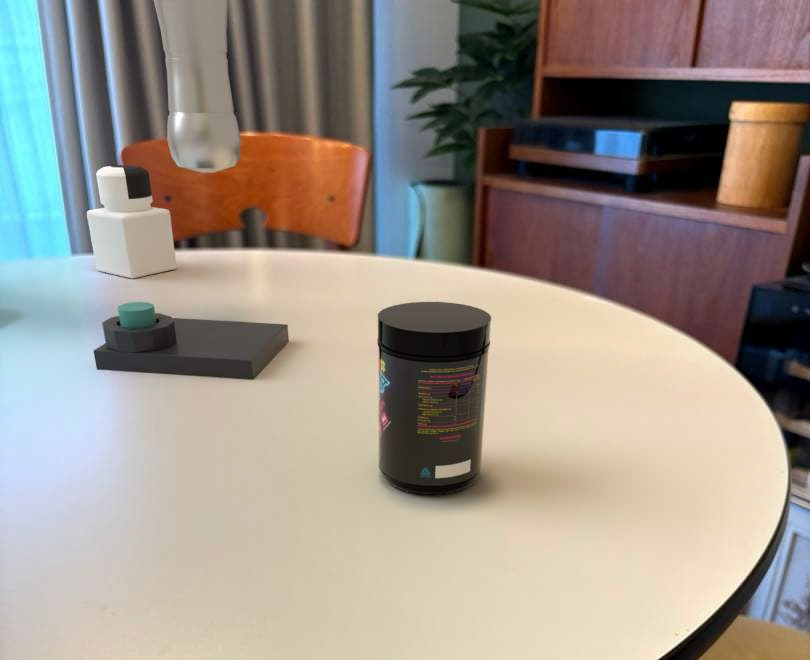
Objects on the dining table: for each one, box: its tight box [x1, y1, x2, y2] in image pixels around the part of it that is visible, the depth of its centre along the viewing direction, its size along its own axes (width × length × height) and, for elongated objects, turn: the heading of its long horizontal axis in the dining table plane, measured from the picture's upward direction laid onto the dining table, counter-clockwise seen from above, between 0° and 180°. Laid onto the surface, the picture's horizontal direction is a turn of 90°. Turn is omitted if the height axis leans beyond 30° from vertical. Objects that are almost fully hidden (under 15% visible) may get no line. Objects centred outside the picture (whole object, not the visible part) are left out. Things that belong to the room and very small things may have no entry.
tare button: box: [117, 301, 157, 328], centre depth 71 cm, size 3×3×2 cm
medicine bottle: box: [86, 164, 177, 279], centre depth 101 cm, size 7×7×12 cm
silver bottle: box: [153, 0, 242, 174], centre depth 71 cm, size 6×7×20 cm
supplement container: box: [376, 301, 492, 495], centre depth 51 cm, size 7×7×10 cm
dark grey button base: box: [93, 312, 290, 381], centre depth 74 cm, size 14×11×4 cm
